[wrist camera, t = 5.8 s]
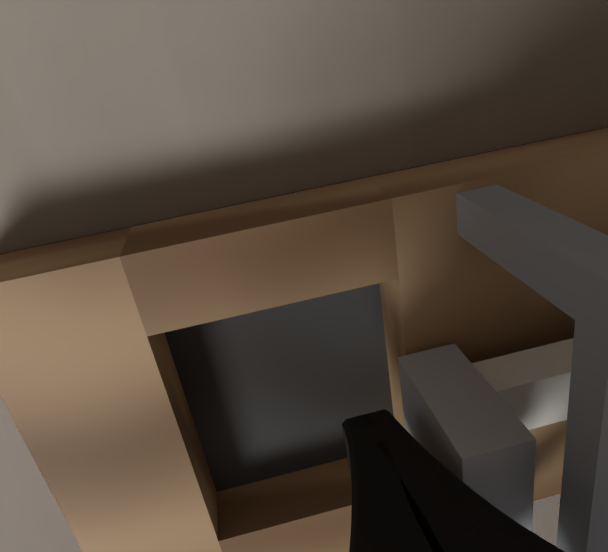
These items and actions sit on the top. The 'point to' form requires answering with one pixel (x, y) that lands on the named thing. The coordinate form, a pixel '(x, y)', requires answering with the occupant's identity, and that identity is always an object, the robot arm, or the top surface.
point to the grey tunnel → (587, 334)
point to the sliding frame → (487, 415)
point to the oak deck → (265, 347)
